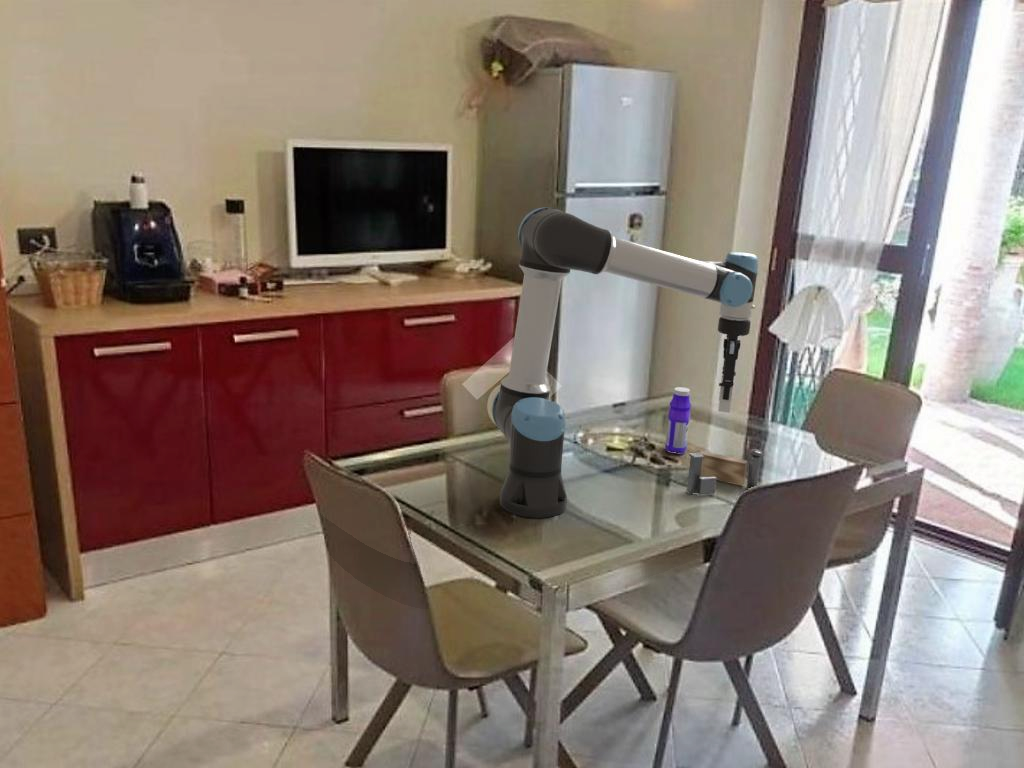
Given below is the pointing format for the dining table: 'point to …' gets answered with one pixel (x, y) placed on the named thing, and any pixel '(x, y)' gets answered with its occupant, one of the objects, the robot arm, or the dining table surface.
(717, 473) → the gate
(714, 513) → the dining table surface
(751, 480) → the hinge post
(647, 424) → the dining table surface
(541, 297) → the robot arm
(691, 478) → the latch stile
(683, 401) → the bottle
